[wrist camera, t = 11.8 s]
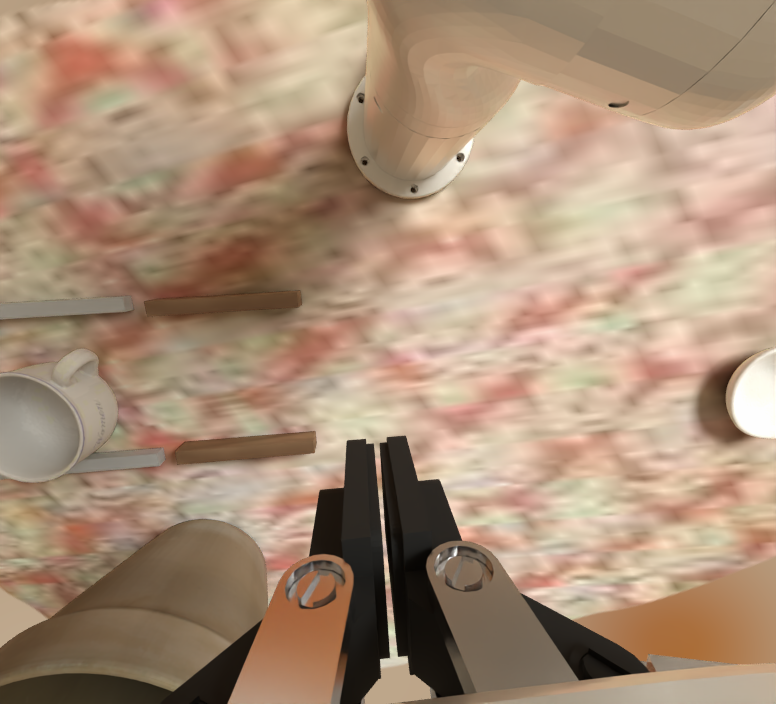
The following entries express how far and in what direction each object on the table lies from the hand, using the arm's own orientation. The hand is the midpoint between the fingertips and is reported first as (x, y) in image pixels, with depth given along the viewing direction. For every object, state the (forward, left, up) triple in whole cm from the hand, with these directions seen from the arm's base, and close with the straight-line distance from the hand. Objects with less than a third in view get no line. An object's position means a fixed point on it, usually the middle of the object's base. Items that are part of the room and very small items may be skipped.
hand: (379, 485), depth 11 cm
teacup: (+7, -30, -33) cm, 46 cm away
